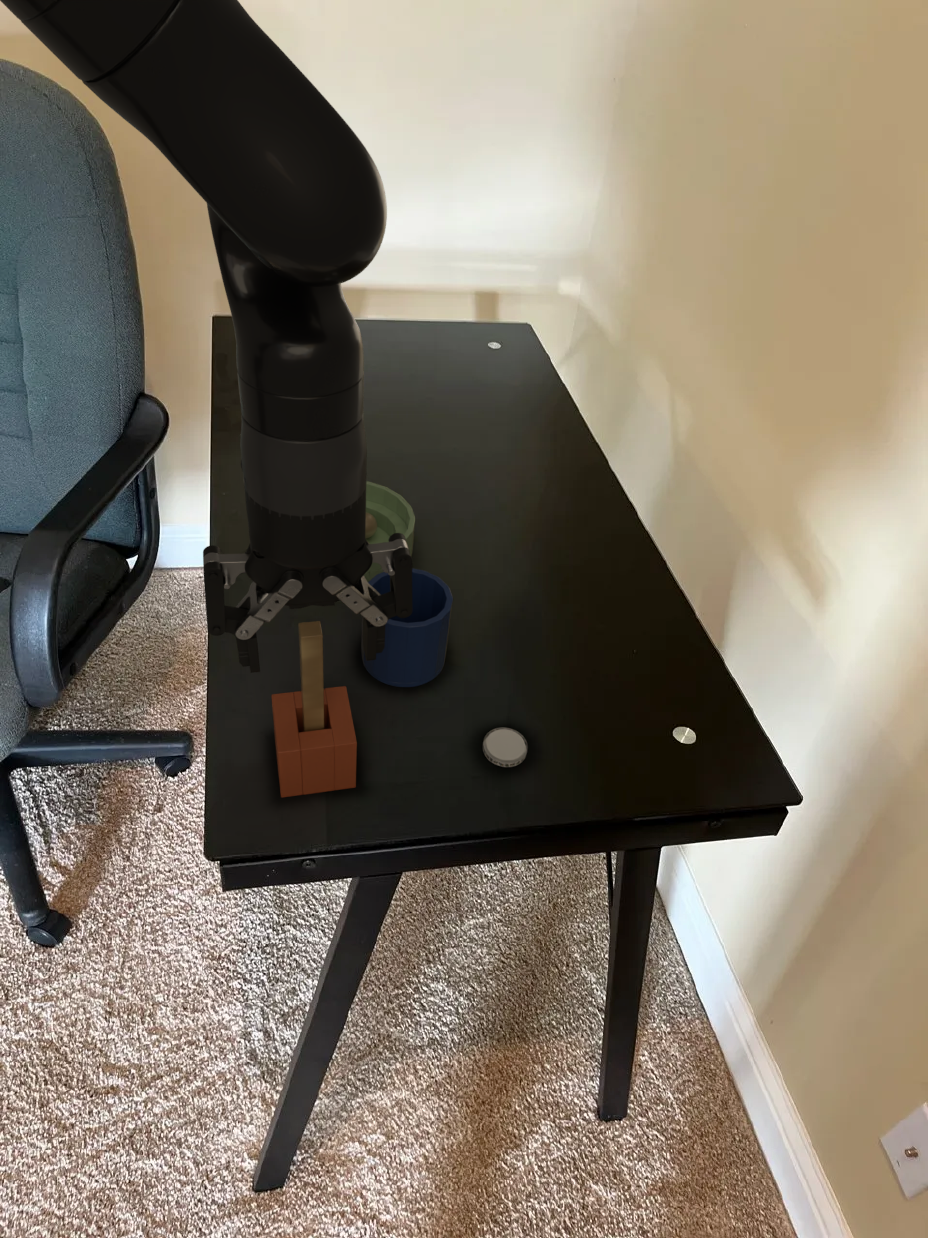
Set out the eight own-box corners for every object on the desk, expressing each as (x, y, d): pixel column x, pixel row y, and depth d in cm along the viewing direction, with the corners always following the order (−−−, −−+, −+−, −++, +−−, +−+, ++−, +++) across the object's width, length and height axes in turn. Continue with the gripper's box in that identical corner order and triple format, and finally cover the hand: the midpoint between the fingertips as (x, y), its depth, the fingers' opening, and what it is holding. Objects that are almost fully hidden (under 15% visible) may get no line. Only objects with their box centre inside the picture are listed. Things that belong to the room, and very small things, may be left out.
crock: (368, 692, 78) (371, 630, 72) (355, 632, 83) (357, 571, 78) (453, 682, 80) (461, 622, 74) (435, 624, 85) (441, 564, 80)
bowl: (290, 599, 86) (288, 561, 83) (278, 518, 96) (276, 482, 92) (423, 588, 89) (426, 552, 86) (399, 511, 99) (401, 476, 96)
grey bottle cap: (534, 759, 74) (535, 755, 73) (494, 772, 72) (495, 767, 72) (514, 726, 76) (515, 722, 76) (475, 738, 75) (476, 734, 74)
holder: (280, 798, 68) (277, 753, 64) (274, 739, 72) (271, 693, 68) (355, 787, 70) (356, 742, 66) (345, 731, 74) (345, 685, 70)
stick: (306, 772, 70) (300, 637, 59) (304, 757, 71) (298, 622, 61) (325, 769, 71) (322, 635, 60) (322, 754, 72) (320, 620, 61)
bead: (352, 545, 93) (352, 523, 91) (348, 529, 95) (348, 507, 93) (378, 543, 93) (379, 521, 91) (374, 527, 95) (375, 505, 93)
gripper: (185, 519, 47) (216, 707, 58) (430, 504, 50) (415, 684, 61) (185, 449, 52) (213, 633, 63) (407, 439, 56) (397, 616, 67)
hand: (313, 658), depth 62 cm, fingers open, 8 cm apart
